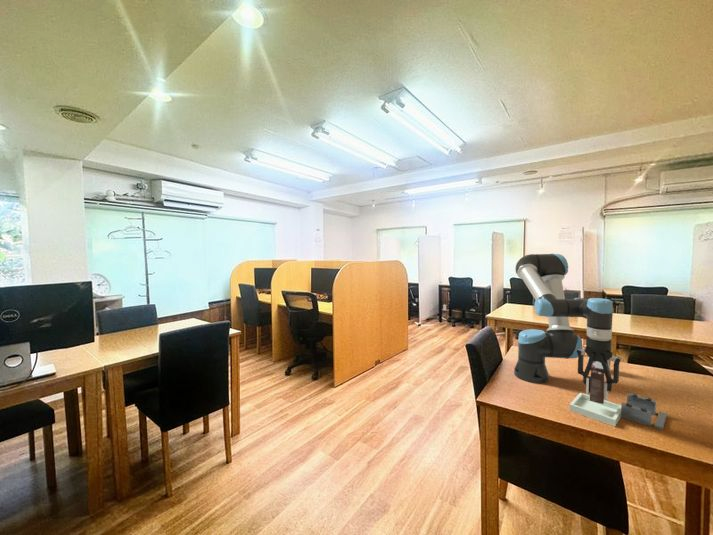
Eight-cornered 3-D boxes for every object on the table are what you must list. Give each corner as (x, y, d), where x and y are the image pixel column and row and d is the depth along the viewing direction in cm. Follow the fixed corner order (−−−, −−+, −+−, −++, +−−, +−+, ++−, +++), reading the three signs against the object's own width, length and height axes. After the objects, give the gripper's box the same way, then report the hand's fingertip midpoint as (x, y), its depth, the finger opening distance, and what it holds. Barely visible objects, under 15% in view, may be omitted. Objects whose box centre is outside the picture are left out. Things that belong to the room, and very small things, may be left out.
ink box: (586, 368, 153) (587, 347, 152) (589, 366, 156) (590, 345, 155) (608, 374, 146) (608, 351, 145) (610, 371, 149) (611, 349, 148)
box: (589, 394, 118) (591, 366, 117) (603, 398, 115) (605, 369, 114) (588, 400, 113) (590, 371, 112) (603, 404, 110) (605, 374, 109)
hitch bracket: (620, 416, 111) (621, 402, 110) (627, 404, 119) (628, 391, 118) (662, 430, 102) (663, 415, 102) (666, 416, 110) (667, 402, 110)
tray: (569, 410, 116) (569, 404, 116) (579, 398, 125) (580, 392, 124) (615, 426, 105) (615, 420, 105) (623, 412, 114) (623, 406, 113)
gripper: (568, 335, 117) (566, 390, 119) (627, 346, 103) (625, 408, 105) (574, 331, 122) (572, 384, 123) (631, 341, 108) (629, 401, 109)
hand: (596, 395), depth 114 cm, fingers closed on box, 5 cm apart
